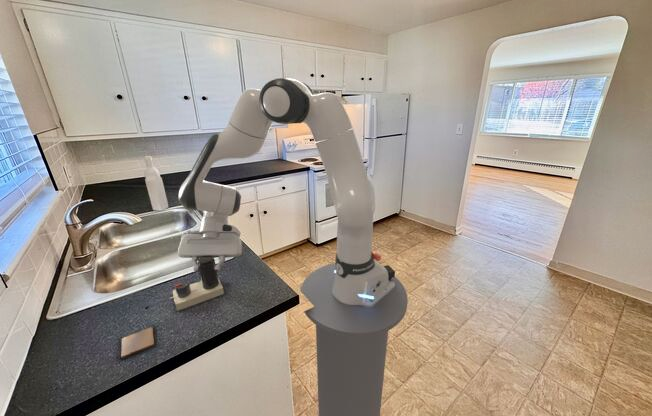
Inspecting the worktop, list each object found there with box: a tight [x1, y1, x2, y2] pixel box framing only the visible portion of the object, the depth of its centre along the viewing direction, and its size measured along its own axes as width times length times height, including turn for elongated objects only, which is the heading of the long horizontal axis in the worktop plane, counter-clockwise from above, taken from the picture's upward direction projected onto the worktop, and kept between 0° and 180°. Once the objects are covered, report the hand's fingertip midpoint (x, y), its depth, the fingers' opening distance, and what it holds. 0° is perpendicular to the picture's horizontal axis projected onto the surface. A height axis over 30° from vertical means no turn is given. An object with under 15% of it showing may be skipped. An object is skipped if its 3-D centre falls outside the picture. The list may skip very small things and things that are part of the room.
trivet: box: [120, 326, 155, 359], centre depth 71 cm, size 7×7×1 cm
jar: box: [197, 256, 220, 290], centre depth 87 cm, size 5×5×10 cm
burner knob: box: [174, 280, 191, 298], centre depth 84 cm, size 4×4×4 cm
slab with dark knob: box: [169, 277, 225, 312], centre depth 87 cm, size 15×8×3 cm, turn 124°
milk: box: [144, 173, 169, 212], centre depth 158 cm, size 6×6×22 cm
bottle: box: [144, 155, 161, 179], centre depth 166 cm, size 8×8×30 cm
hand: (207, 270), depth 86 cm, fingers closed on jar, 5 cm apart
